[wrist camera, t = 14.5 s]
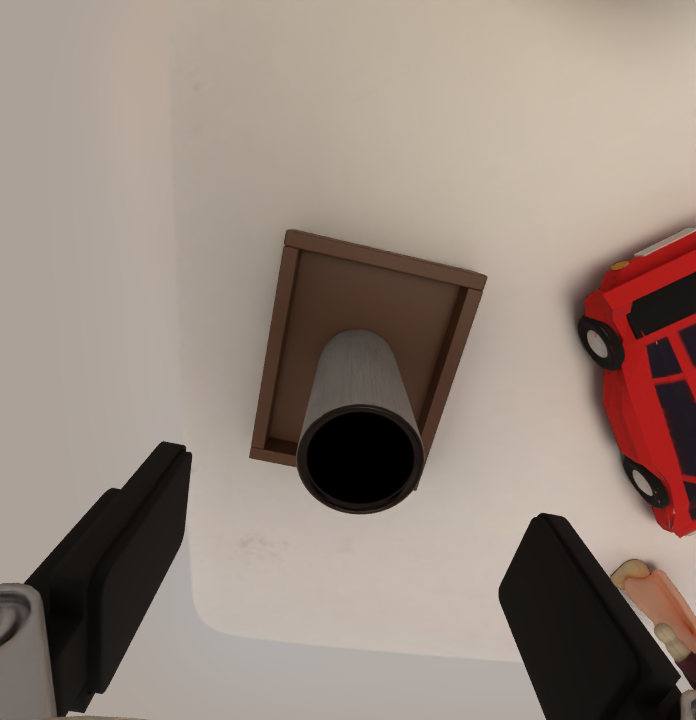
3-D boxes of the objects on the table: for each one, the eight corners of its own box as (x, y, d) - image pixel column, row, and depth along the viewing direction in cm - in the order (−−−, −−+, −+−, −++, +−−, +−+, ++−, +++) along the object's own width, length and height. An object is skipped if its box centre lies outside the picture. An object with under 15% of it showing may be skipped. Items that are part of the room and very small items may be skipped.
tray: (292, 229, 21) (286, 229, 19) (476, 271, 22) (488, 276, 20) (256, 440, 26) (249, 458, 24) (411, 471, 26) (416, 491, 24)
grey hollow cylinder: (330, 406, 24) (316, 527, 15) (310, 338, 23) (278, 421, 13) (402, 389, 24) (436, 502, 14) (385, 319, 22) (410, 390, 13)
